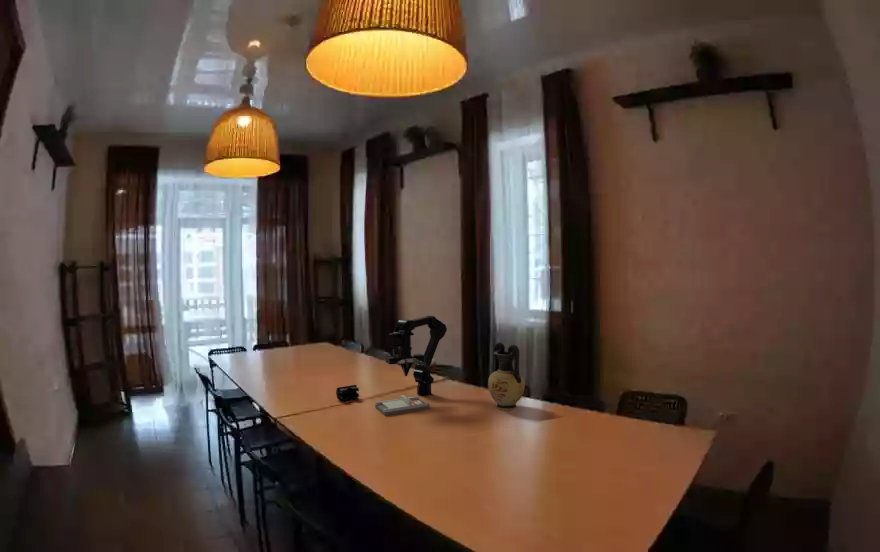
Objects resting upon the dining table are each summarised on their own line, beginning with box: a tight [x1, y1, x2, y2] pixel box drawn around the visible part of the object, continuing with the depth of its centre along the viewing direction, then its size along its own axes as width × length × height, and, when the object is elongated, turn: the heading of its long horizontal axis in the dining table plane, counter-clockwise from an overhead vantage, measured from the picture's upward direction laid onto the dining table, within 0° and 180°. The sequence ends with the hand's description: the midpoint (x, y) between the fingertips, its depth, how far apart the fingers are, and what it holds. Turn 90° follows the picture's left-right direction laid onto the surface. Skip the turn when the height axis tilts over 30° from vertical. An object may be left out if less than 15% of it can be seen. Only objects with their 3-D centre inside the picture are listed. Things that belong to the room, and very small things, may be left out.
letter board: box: [374, 395, 430, 416], centre depth 241 cm, size 22×14×3 cm, turn 114°
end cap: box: [335, 384, 360, 403], centre depth 258 cm, size 10×7×7 cm
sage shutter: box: [382, 394, 412, 409], centre depth 239 cm, size 11×11×3 cm
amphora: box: [487, 342, 526, 411], centre depth 238 cm, size 18×17×30 cm
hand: (405, 376), depth 255 cm, fingers closed
